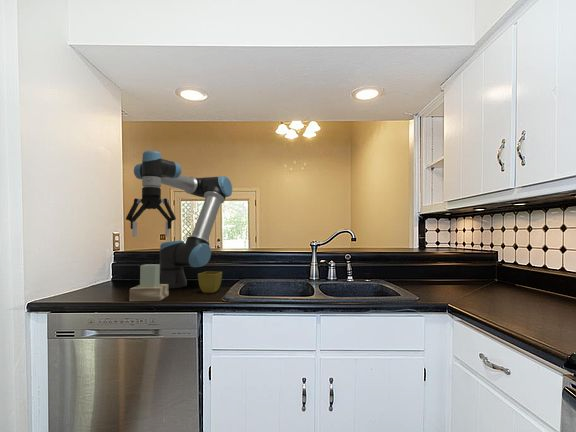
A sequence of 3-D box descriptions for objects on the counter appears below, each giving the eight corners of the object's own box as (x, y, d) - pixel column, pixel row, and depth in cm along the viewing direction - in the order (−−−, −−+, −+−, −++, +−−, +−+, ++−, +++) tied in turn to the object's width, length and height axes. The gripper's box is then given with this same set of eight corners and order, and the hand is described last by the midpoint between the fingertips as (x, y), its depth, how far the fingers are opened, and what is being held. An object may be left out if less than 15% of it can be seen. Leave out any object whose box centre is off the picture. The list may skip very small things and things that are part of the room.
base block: (140, 295, 150) (141, 284, 150) (168, 295, 150) (168, 283, 150) (129, 301, 138) (129, 288, 138) (159, 300, 138) (159, 288, 138)
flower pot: (215, 294, 153) (215, 274, 153) (197, 293, 154) (197, 273, 155) (222, 290, 161) (222, 271, 162) (205, 290, 163) (205, 271, 163)
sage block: (145, 285, 147) (145, 264, 147) (159, 285, 147) (159, 264, 148) (140, 287, 141) (140, 265, 141) (154, 287, 141) (155, 265, 142)
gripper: (117, 186, 142) (117, 237, 141) (178, 186, 143) (178, 236, 142) (125, 188, 149) (125, 236, 148) (183, 188, 150) (182, 236, 150)
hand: (150, 236), depth 145 cm, fingers open, 13 cm apart
